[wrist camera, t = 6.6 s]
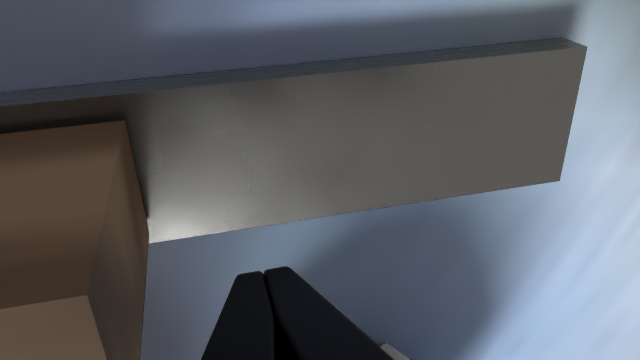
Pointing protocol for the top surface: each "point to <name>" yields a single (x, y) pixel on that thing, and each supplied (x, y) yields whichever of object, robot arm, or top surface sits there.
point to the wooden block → (71, 245)
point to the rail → (328, 132)
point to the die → (394, 352)
